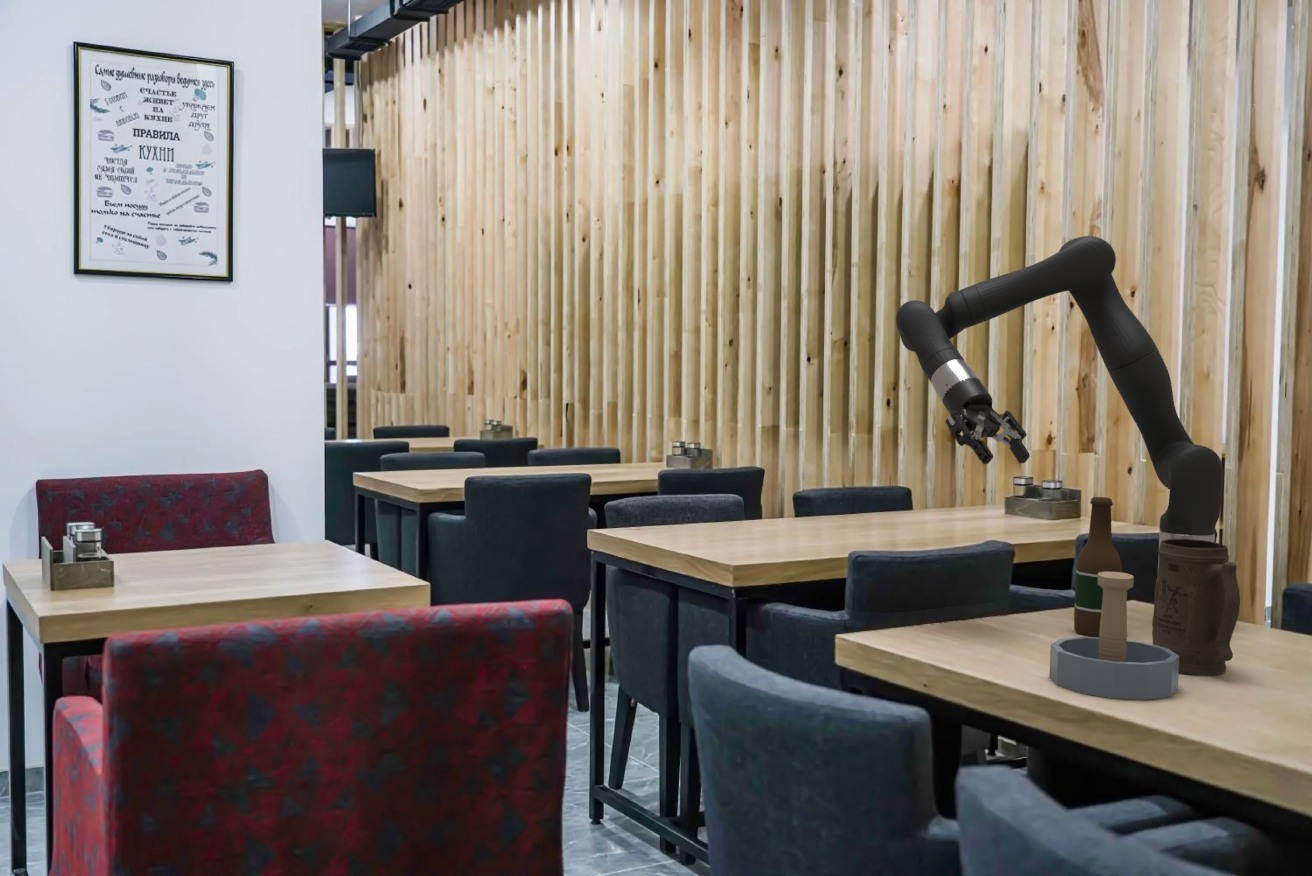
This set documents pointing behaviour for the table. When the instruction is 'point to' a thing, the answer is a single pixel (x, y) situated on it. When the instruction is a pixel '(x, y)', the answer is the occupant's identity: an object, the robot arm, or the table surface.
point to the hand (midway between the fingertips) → (1007, 460)
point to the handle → (1114, 615)
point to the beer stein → (1196, 604)
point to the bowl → (1114, 669)
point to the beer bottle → (1094, 568)
